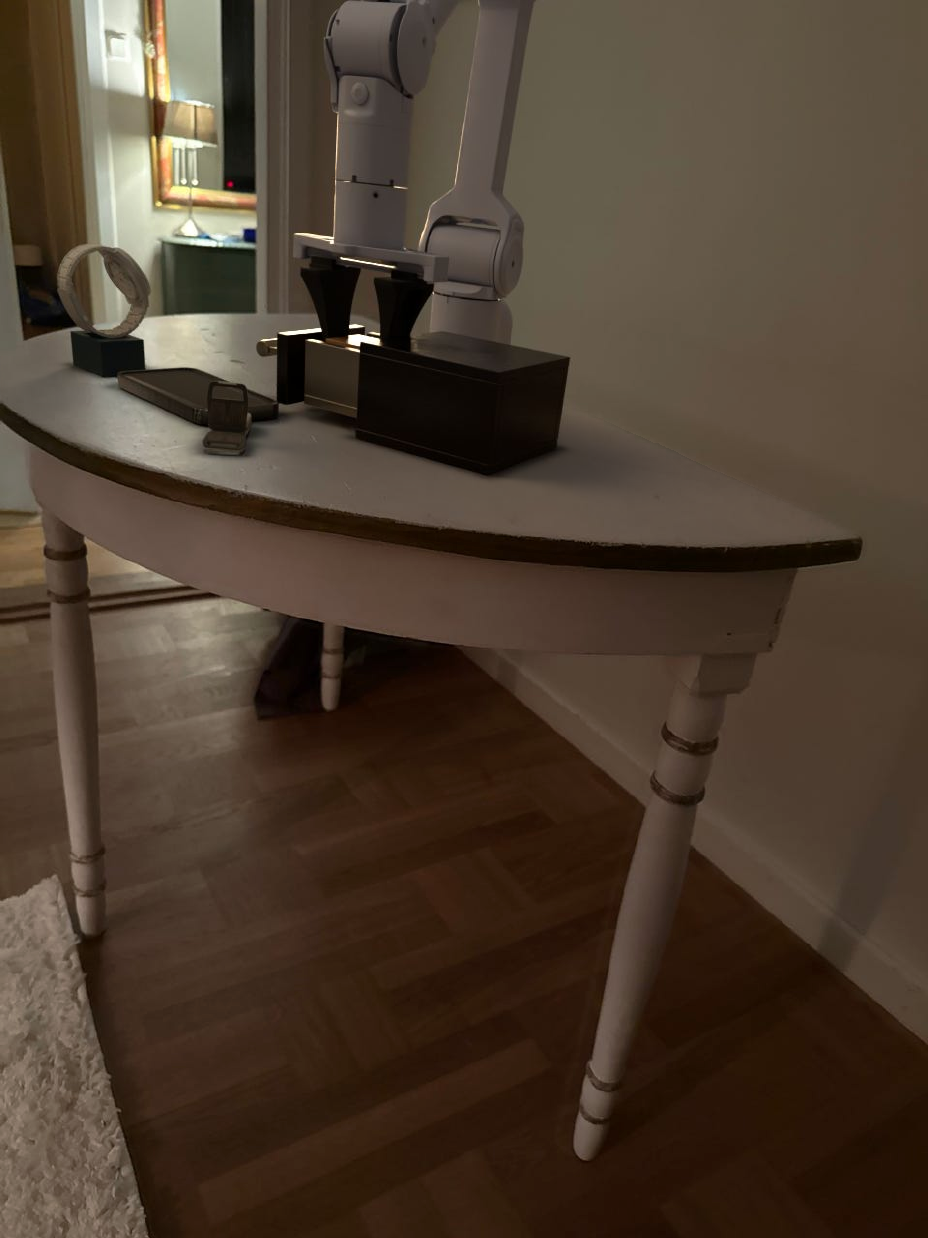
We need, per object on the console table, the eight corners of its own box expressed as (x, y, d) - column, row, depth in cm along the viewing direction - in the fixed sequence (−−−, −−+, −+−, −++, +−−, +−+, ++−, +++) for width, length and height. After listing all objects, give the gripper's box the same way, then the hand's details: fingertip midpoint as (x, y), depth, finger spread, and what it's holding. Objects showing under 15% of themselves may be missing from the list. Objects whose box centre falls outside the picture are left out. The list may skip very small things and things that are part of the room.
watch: (164, 371, 85) (158, 249, 80) (84, 378, 80) (73, 247, 75) (133, 360, 88) (125, 242, 84) (54, 365, 83) (41, 239, 78)
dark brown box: (355, 437, 71) (359, 341, 68) (434, 416, 80) (442, 330, 77) (487, 475, 66) (499, 372, 62) (556, 448, 75) (570, 356, 71)
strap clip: (214, 419, 71) (213, 366, 69) (252, 422, 71) (253, 369, 69) (200, 452, 63) (199, 394, 61) (243, 456, 64) (243, 397, 62)
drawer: (238, 391, 77) (237, 323, 75) (316, 378, 85) (317, 316, 83) (383, 431, 70) (388, 358, 68) (453, 413, 78) (459, 346, 76)
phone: (201, 412, 69) (112, 371, 78) (201, 426, 69) (113, 384, 78) (285, 403, 74) (193, 366, 83) (285, 416, 74) (193, 378, 83)
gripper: (268, 172, 69) (267, 348, 75) (417, 190, 63) (404, 381, 69) (326, 177, 75) (321, 341, 81) (469, 195, 68) (452, 372, 74)
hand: (363, 359), depth 75 cm, fingers open, 5 cm apart
